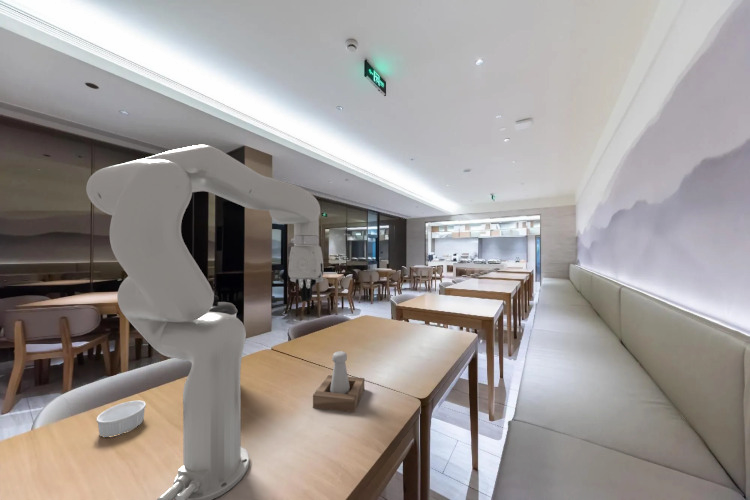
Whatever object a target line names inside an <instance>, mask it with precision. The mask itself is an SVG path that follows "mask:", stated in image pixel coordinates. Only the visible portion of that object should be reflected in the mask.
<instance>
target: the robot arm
mask: <svg viewBox="0 0 750 500" xmlns="http://www.w3.org/2000/svg"><path fill="white" fill-rule="evenodd" d="M85 187H86V188H85V189H86V195H87V196H88V197H87V198H88V199H89V200H90V203H92V205H93V206H95V207H96V209H98V210H100V211H101V212H103V213H105V214H107V215H110V216H111V219H110V225H109V242H110V246H111V250H112V252H113V255H114V257H115V259H116V260H117V262H118V263H119V265H120V267H121V268H122V269H123V270H124V272H125V273H126V274H127V277H126V278H125V279H123V281H122V282H121V283H120V285H119V288H118V290H117V296H116V297H117V298H116V300H117V304H118V307H119V309H120V310H119V311H120V312H121V313H122V315H124V317H125V319H126V320H128V322H129V323H130V324H131V325H132V326H133V327H134V329H135V330H136V331H137V332H138V333H139V334H140V335H141V336H142V337H143V338H144V339H145V341H146V342H147V343H148V344H149V345H150V347H152V348H153V349H154V350H155V351H156V352H157V353H159V354H161V355H163V356H165V357H168V358H173V359H175V360H176V359H177V360H182V361H187V362H190V363H191V368H190V370H189V373H188V375H187V378H186V379H185V382H184V386H183V393H182V406H183V407H182V409H183V410H182V411H183V415H182V416H183V417H182V419H183V420H182V421H183V422H182V423H183V426H182V427H183V428H182V429H183V431H182V433H183V438H182V441H183V443H182V445H183V450H182V451H183V459H182V461H183V465H182V466H181V467H180V468H178V470H177V474H176V477H175V479H174V480H173V483H172V486H170V487H169V488H168V489H167V490H166V491H165V492H163V493H162V494H161V495H160V496H159V497H158V498H157V499H156V500H214V499H215V500H216V499H217V498H219V497H221V496H223V494H226V493H227V492H228V491H230V490H231V489H232V488H234V487H235V486H236V485H237V484H238V483H239V482H240V481H241V479H242V478H243V477H244V476H245V474H246V473H247V471H248V468H249V466H250V464H249V463H250V455H249V452H248V450H247V449H246V448H245V447H243V446H241V444H242V443H241V439H242V438H241V437H242V435H241V429H242V427H241V426H242V425H241V422H242V421H241V416H242V415H241V413H242V412H241V410H242V409H241V369H242V368H241V367H242V359H243V353H244V348H245V343H246V336H247V335H246V334H247V333H246V327H245V325H244V324H243V322H242V320H240V318H238V317H237V316H236V317H235V316H233V315H230V314H226V313H219V312H209V310H210V309H211V307H212V305H213V301H214V296H215V294H214V292H213V289H212V286H211V284H210V283H209V281H208V279H207V277H206V276H205V275H204V273H203V272H202V269H200V267H199V265H198V263H197V262H196V259H194V257H193V256H192V254H191V253H190V251H189V249H188V247H187V245H186V244H185V243H186V242H184V239H183V236H182V223H183V222H182V220H183V217H184V214H185V212H186V209H187V208H188V207H189V204H190V201H191V199H192V196H193V193H197V192H207V193H210V194H213V195H215V196H218V197H220V198H223V199H225V200H227V201H229V202H232V203H235V204H237V205H238V206H239V205H240V206H242V207H244V208H246V209H251V210H256V211H257V210H259V211H269V212H268V213H269V216H270V218H271V219H272V220H274V222H276V223H277V224H282V225H290V224H291V225H293V238H291V239H290V243H292V244H293V246H291V247H290V253H289V258H288V269H287V270H288V272H287V274H288V277H289V278H290V279H289V280H290V282H294V283H295V284H297V286H298V287H299V288H300V298H301V301H302V302H309V301H312V298H313V287H314V286H315V285H316V284H317V283H321V282H323V281H324V278H323V276H324V257H323V252H322V247H321V246H320V239H319V238H320V234H319V233H320V228H319V227H320V226H319V225H320V222H319V218H320V215H321V206H320V203H319V201H318V200H317V198H316V197H315V196H314V195H313V194H312V193H310V192H309V191H307V190H305V188H302V187H301V186H298V185H297V184H293V183H289V182H287V181H282V180H281V179H280V180H279V179H276V178H272V177H269V176H265V175H263V174H260V173H259V172H257V171H255V170H254V169H252V168H250V167H248V166H247V165H246V164H244V163H242V162H241V161H239V160H237V159H236V158H234V157H233V156H230V155H229V154H227V153H225V152H224V151H222V150H221V149H219V148H216V147H214V146H212V145H208V144H207V145H206V144H198V145H192V146H191V145H190V146H186V147H182V148H176V149H172V150H167V151H165V152H162V153H158V154H155V155H151V156H146V157H145V158H144V157H143V158H139V159H136V160H131V161H126V162H124V163H120V164H115V165H110V166H106V167H103V168H100V169H98V170H97V171H95V172H94V173H93V174H91V176H90V177H89V178H88V180H87V183H86V186H85Z"/></svg>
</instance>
